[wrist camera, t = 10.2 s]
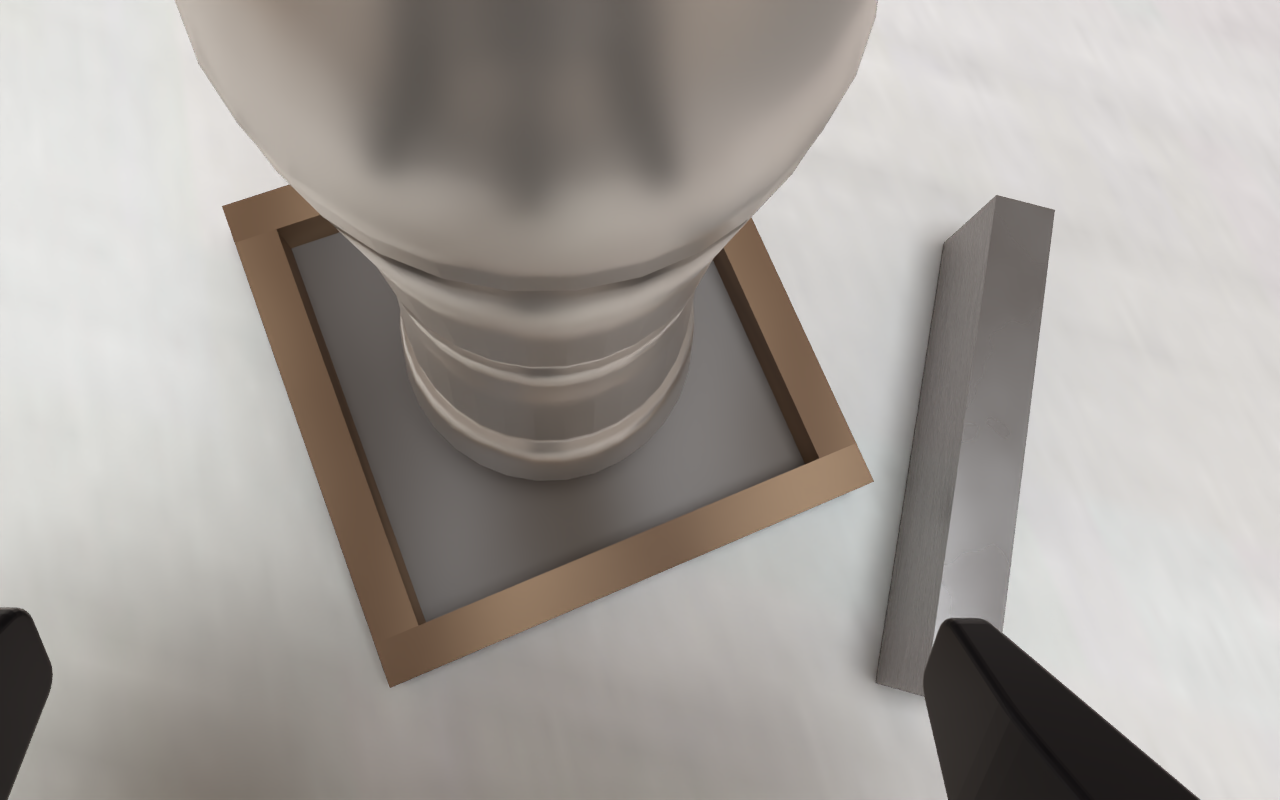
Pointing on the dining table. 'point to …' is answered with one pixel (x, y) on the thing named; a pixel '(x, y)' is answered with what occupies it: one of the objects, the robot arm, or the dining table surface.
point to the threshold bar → (968, 435)
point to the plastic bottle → (536, 182)
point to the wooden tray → (516, 507)
